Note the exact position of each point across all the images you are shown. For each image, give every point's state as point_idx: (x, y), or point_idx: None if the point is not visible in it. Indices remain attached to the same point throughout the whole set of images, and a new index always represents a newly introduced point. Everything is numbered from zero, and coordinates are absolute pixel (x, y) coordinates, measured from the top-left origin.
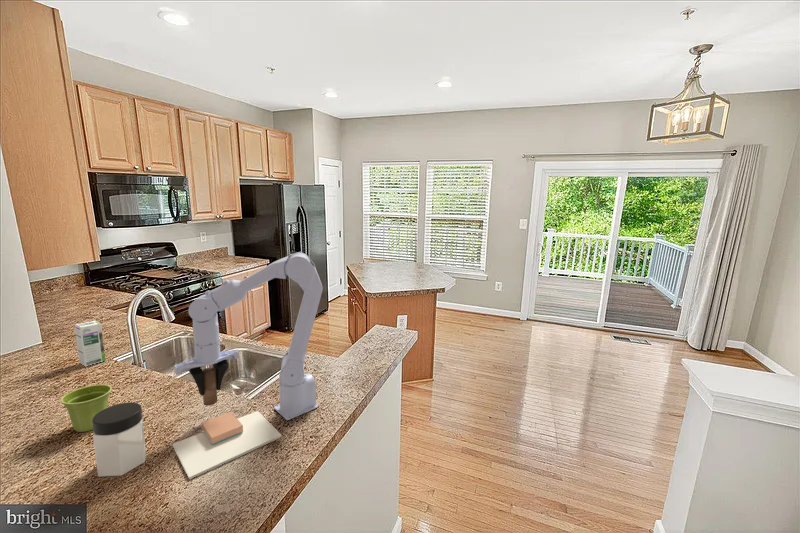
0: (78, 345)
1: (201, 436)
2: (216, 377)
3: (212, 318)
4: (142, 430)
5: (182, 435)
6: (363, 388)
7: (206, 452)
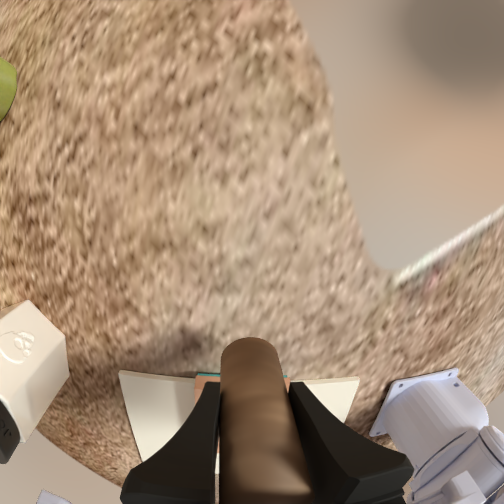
0: None
1: (187, 396)
2: (304, 447)
3: None
4: (34, 419)
5: (147, 343)
6: (500, 390)
7: None
